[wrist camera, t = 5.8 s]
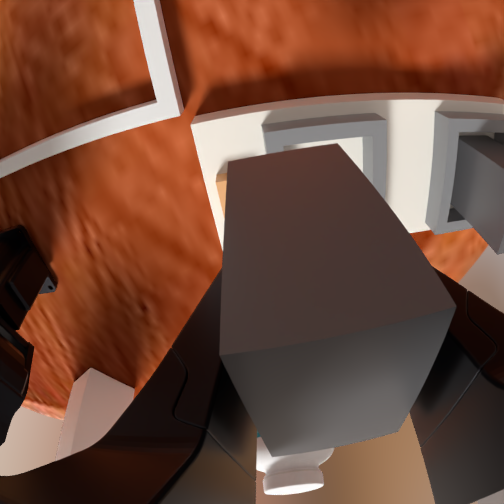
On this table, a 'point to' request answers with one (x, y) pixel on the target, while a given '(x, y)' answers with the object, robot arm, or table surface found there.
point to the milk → (92, 411)
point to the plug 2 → (481, 187)
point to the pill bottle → (290, 470)
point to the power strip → (359, 145)
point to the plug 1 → (323, 302)
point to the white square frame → (135, 116)
